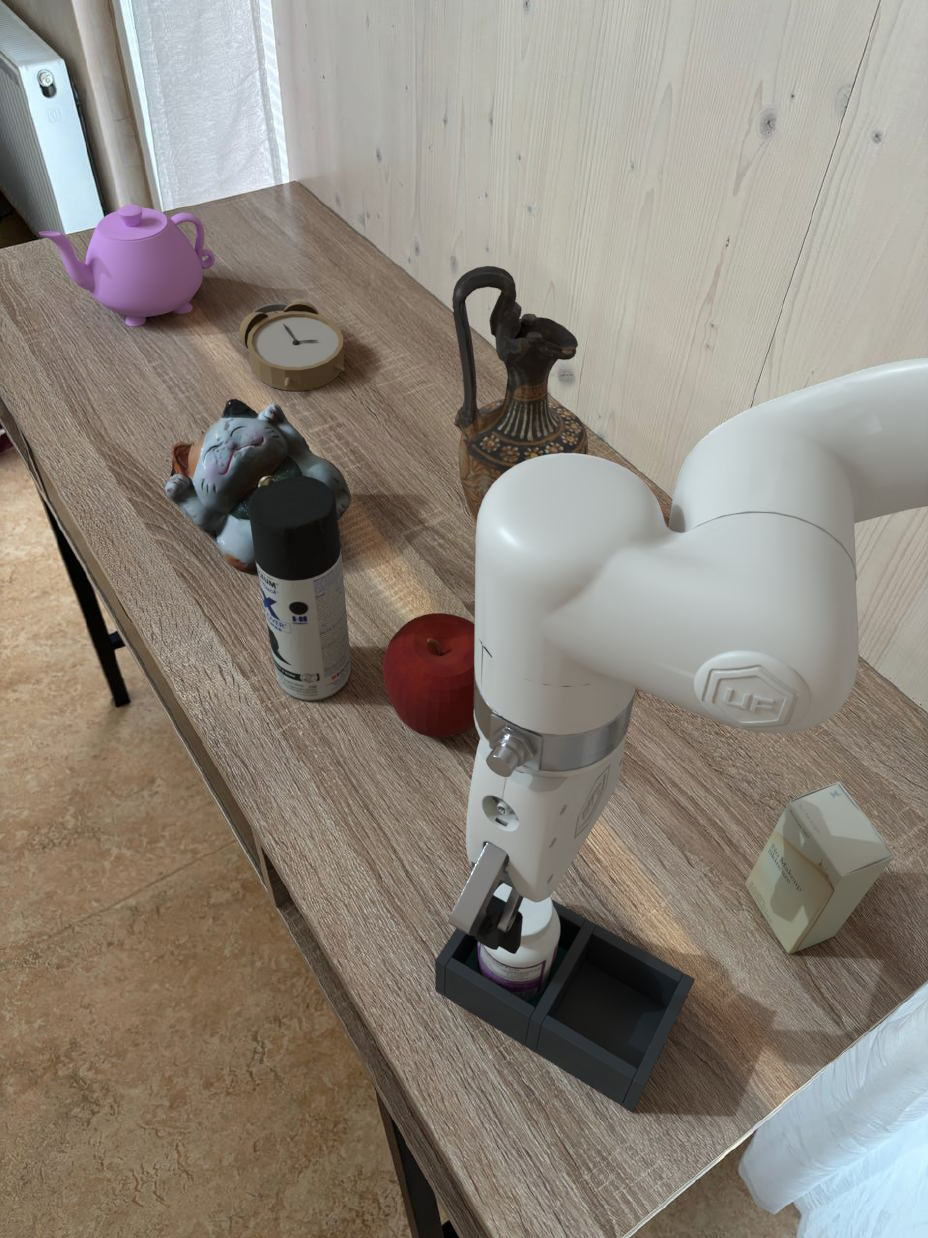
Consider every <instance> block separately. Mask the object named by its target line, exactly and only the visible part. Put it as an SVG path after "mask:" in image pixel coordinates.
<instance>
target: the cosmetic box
mask: <svg viewBox="0 0 928 1238" xmlns="http://www.w3.org/2000/svg"><path fill="white" fill-rule="evenodd" d="M894 856H895V855H894V852H893V850H891V848H890V846H889V845H888V844H887V843H886V842H885V839H884V838H883V837H882V835H881V834H880V833H879V831H877V829H876V828H875V827H874V825H873V823H872V822H871V821H870V819H869V818H868V817H867V816H866V815H865V813H864V811H862V809H861V808H860V807H859V805H858V803H856V801H855V800H854V799H853V798H852V796H851V795H850V794H849V793H848V791H847V789H845V787H844V786H843V784H842V783H841V782H840V781H836V782H834V783H831V784H828V785H826V786H822V787H820V788H817V789H815V790H811V791H809V792H806V793H804V794H801V795H799V796H797V797H795V798H792V799H790V800H789V801H788V803H787V804H786V807H785V808H784V810H783V812H782V814H781V815H780V817H779V819H778V820H777V823H776V825H775V826H774V828H773V830H772V832H771V834H770V836H769V837H768V840H767V841H766V843H765V845H764V847H763V848H762V850H761V852H760V854H759V856H758V858H757V860H756V861H755V862H754V863H755V864H754V865H753V866H752V869H751V871H750V873H749V874H748V876H747V879H746V880H745V882H744V886H745V888H746V889H747V891H748V892H749V894H750V895H751V897H752V899H753V901H754V902H755V904H756V906H757V908H758V909H759V911H760V912H761V914H762V915H763V917H764V918H765V920H766V922H767V923H768V925H769V927H770V929H771V930H772V932H773V933H774V934H775V936H776V938H777V939H778V941H779V942H780V944H781V946H782V947H783V949H784V950H785V952H786V953H787V954H788V955H792V954H795V953H797V952H799V951H802V950H805V949H807V948H809V947H812V946H814V945H816V944H819V943H821V942H824V941H826V940H829V939H831V938H833V937H835V936H836V934H838V932H839V930H840V929H841V928H842V927H843V925H844V924H845V923H846V921H847V920H848V918H850V916H851V915H852V913H853V912H854V910H855V909H856V907H857V906H858V905H859V904H860V902H861V901H862V899H863V898H864V897H865V896H866V894H867V893H868V892H869V890H870V889H871V888H872V886H873V885H874V883H876V881H877V880H878V879H879V877H880V875H881V874H882V873H883V872H884V870H885V869H886V867H887V866H888V865H889V863H890V862H891V861H892V859H893V858H894Z"/></svg>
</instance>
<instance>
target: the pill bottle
mask: <svg viewBox="0 0 928 1238" xmlns="http://www.w3.org/2000/svg"><path fill="white" fill-rule="evenodd" d="M511 889H512V887H510V886H508V885H506V884H504V883H503V884H502V885H500V886H499V887H498V888H497V889H496V891H495V892H494V896H496V897H498V898H500V899H502V900H503V901H505V902H507V899H508V897H509V894H510V892H511ZM552 900H553V899H552V897H551V895H550V896H549V897H548V898H547V899H545V900H543V901H541V902H537V903H536V902H533V901H531V900H529V899H527V898H523V900H522V903H521V905H520V908H519V910H518V911H519V912H520V913H521V914H522V916H523V922H522V933H521V944H520V947H519V949H518V950H517V952H516V954H512V953H510V952H508V951H506V950H504V949H503V948H501V947H498V949H497V950H493V949H490V948H488V947H486V946H485V945H483V944H481V943H480V942H479V941H478V948H477V970H478V973H479V974H480V975H482V976H484V977H485V978H487V979H489V980H490V981H492V982H494V983H495V984H497V985H499V986H500V987H502V988H504V989H505V990H507V991H509V992H510V993H512V994H514V995H515V996H517V997H519V998H520V999H522V1000H524V1001H525V1002H526V1001H529V1000H531V999H534V998H535V997H537V996H539V995H540V994H541V993H542V992H543V991H544V990H545V989H546V987H547V986H548V984H549V982H550V979H551V976H552V972H553V968H554V962H555V957H556V952H557V947H558V942H559V937H560V921H559V917H558V914H557V912H556V910H555V908H554V906H553V903H552Z"/></svg>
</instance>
